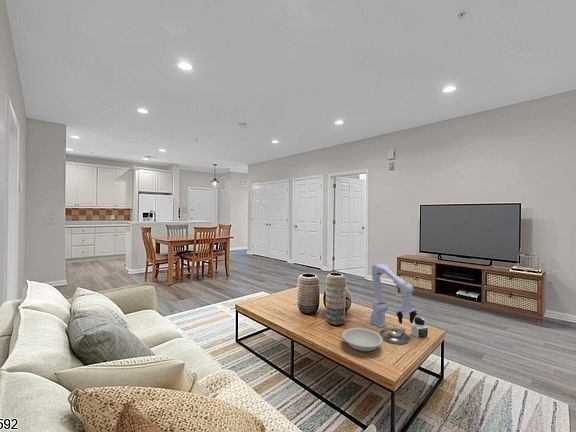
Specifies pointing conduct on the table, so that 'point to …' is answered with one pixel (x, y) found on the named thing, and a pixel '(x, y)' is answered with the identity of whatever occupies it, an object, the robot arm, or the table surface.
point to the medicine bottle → (419, 328)
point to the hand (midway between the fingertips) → (405, 323)
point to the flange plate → (399, 341)
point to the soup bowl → (362, 339)
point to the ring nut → (394, 333)
